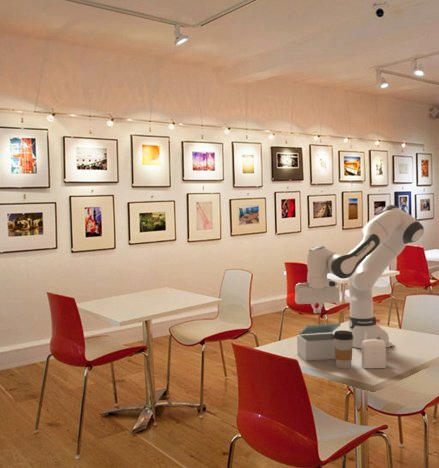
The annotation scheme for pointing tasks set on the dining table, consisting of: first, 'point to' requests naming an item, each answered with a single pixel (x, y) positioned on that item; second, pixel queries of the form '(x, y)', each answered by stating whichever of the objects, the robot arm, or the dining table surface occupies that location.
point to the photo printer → (373, 353)
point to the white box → (316, 346)
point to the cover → (319, 328)
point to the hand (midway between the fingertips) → (317, 312)
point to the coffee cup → (343, 348)
